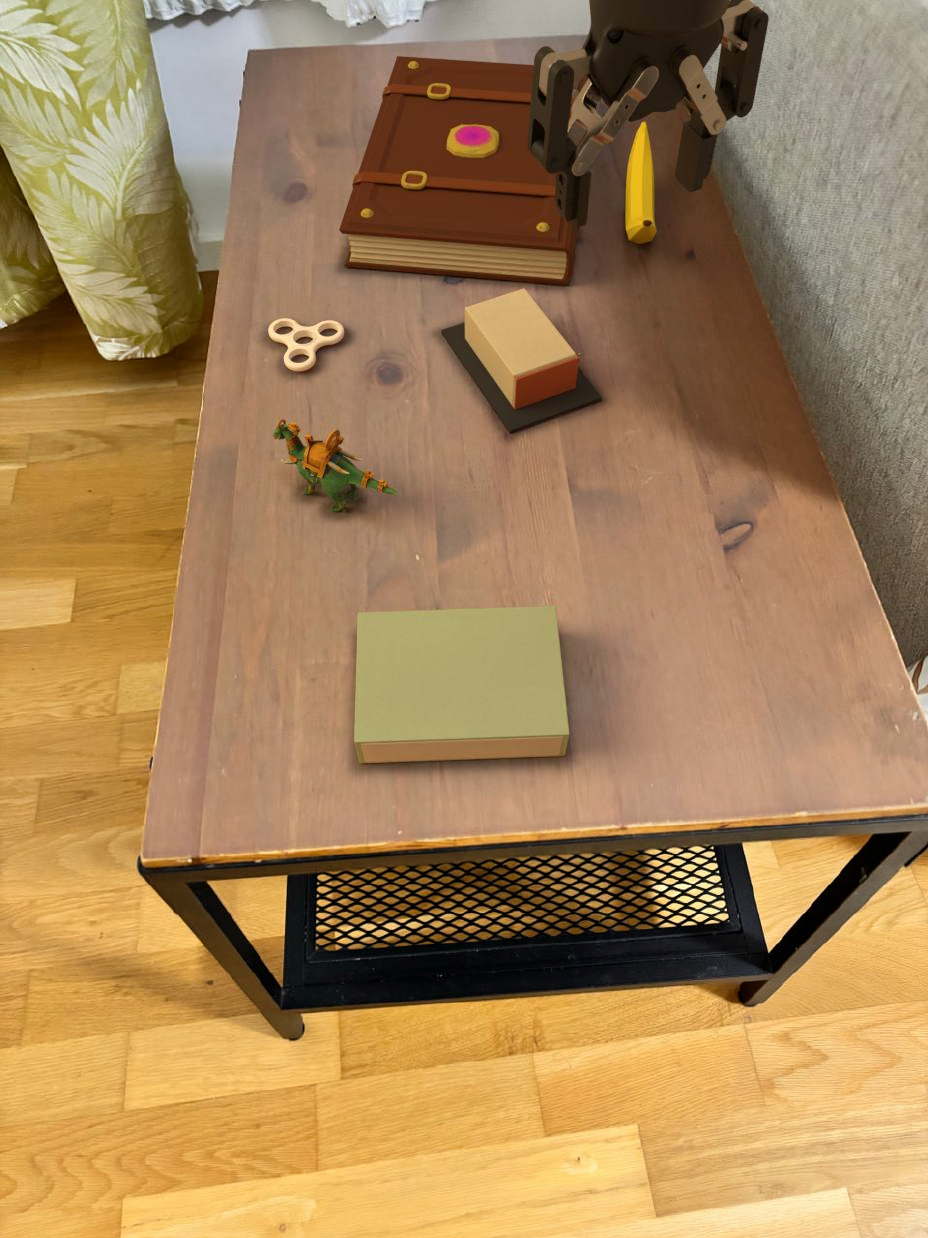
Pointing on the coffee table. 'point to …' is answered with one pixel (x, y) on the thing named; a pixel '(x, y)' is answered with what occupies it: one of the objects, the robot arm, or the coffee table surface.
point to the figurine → (327, 465)
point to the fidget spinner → (304, 331)
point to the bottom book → (459, 685)
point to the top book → (520, 348)
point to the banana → (640, 190)
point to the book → (457, 178)
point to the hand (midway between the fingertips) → (631, 202)
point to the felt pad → (499, 402)
